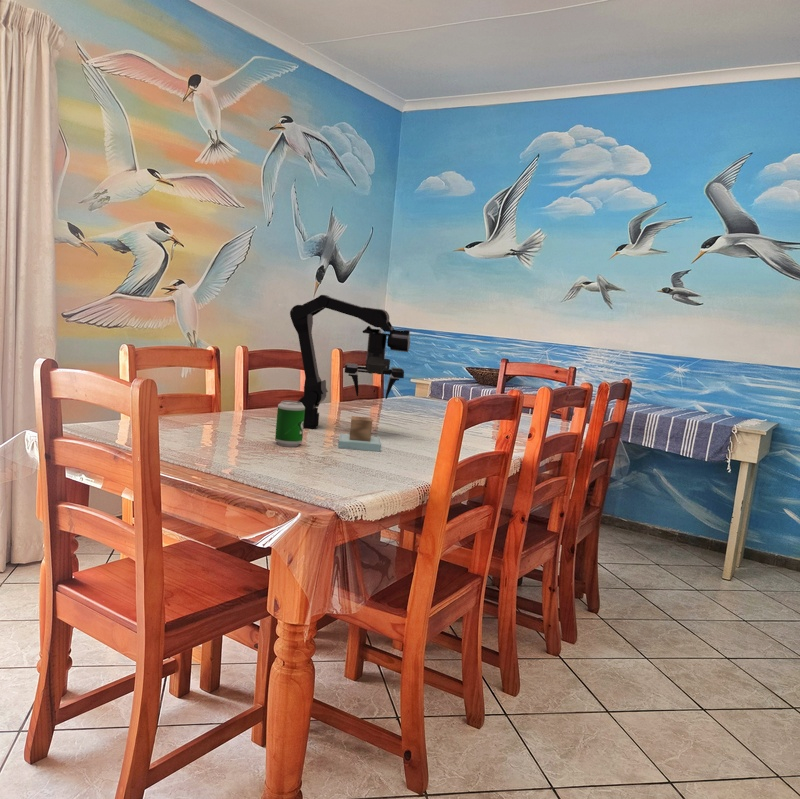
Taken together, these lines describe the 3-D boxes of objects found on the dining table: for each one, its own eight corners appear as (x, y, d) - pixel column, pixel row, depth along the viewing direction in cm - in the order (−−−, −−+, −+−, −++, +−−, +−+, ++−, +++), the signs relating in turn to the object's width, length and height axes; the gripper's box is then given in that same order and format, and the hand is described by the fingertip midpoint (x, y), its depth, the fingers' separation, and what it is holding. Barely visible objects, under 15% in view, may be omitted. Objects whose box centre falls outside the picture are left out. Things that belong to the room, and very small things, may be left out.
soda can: (296, 448, 190) (300, 405, 189) (270, 444, 191) (274, 402, 190) (305, 444, 197) (309, 402, 196) (280, 440, 199) (283, 399, 197)
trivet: (338, 448, 197) (338, 440, 196) (339, 440, 208) (339, 433, 208) (380, 451, 197) (381, 444, 197) (378, 443, 209) (379, 436, 209)
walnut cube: (349, 439, 200) (351, 419, 199) (349, 435, 205) (351, 416, 205) (370, 441, 200) (372, 421, 199) (369, 437, 206) (371, 417, 205)
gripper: (346, 347, 211) (342, 398, 213) (407, 353, 212) (402, 403, 214) (347, 345, 222) (342, 393, 224) (404, 351, 223) (400, 398, 225)
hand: (371, 397), depth 221 cm, fingers open, 9 cm apart
